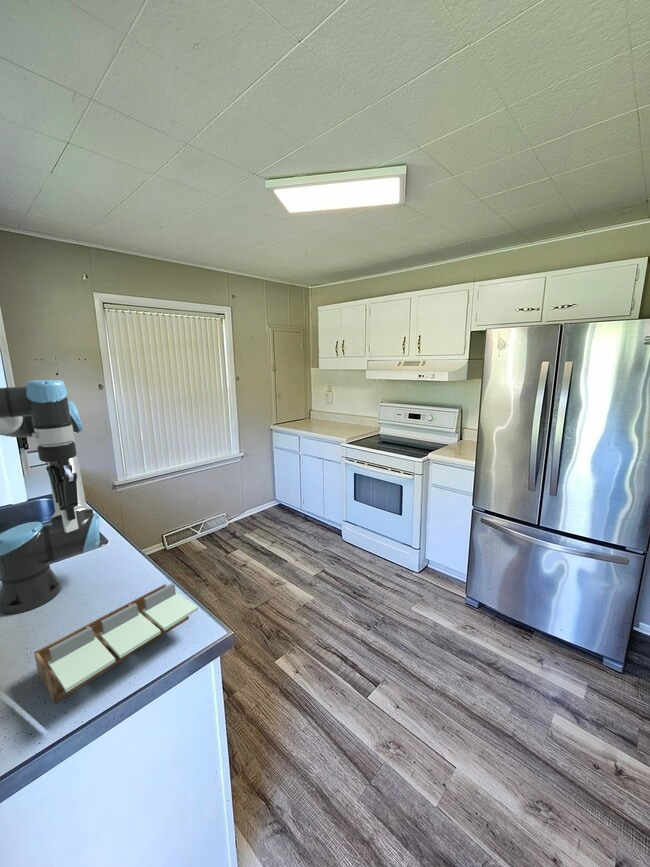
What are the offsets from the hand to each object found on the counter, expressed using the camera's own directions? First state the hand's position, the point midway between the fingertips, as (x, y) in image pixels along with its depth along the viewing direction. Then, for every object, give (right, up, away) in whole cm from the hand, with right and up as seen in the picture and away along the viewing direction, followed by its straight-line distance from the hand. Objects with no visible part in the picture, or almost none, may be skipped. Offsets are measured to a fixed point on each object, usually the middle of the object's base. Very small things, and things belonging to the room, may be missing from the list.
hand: (71, 529), depth 93 cm
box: (+14, -30, -2) cm, 33 cm away
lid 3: (+26, -21, 0) cm, 34 cm away
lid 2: (+20, -23, -8) cm, 31 cm away
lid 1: (+13, -25, -15) cm, 32 cm away
